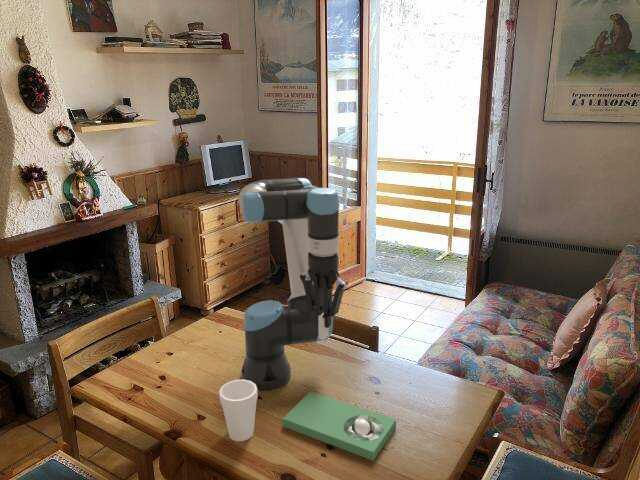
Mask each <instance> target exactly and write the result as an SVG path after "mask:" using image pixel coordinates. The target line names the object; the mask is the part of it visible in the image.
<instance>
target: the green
mask: <svg viewBox="0 0 640 480" xmlns="http://www.w3.org/2000/svg"><path fill="white" fill-rule="evenodd" d="M361 419H363V420H366V421H367V422H368V423H369V425H370V431H371V432H372V433H370V434H367V435H359V434H357V433H356V432H355V423H356V422H357V421H358V420H361ZM282 427H284V428H286V429H288V430H291V431H293V432H297V433H299V434H302V435H304V436H307V437H308V438H309V437H310V438H312V439H315V440H318V441H319V442H323V443H325V444H328V445H330V446H333V447H335V448H338V449H341V450H344V451H346V452H349V453H352V454H353V455H357V456H360V457H362V458H365V459H367V460H370V461H375V460H376V458H377V456H378V455H379V453H380V451H382V449H383V448H384V445H385V444H386V443H387V441H388V440H389V439H390V437H391V436H392V434H393V432H394V431H395V429H396V428H397V419H396V418H392V417H389V416H386V415H382V414H381V413H377V412H374V411H371V410H367V409H364V408H362V407H359V406H356V405H352V404H349V403H347V402H344V401H341V400H338V399H335V398H331V397H329V396H326V395H322V394H321V393H317V392H313V391H309V392H308V393H307V394H306V395H305V396H304V397H303V398H302V399H301V400H299V402H298V403H297V404H295V406H294V407H293V408H292V409H291V410H290V411H289V412H288V413H287V414H286V415H285V416H284V417H283V418H282Z"/></svg>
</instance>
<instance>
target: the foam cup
mask: <svg viewBox="0 0 640 480" xmlns="http://www.w3.org/2000/svg"><path fill="white" fill-rule="evenodd" d="M258 393H259V392H258V389H257V387H256V384H255V383H253V382H251V381H249V380H244V379H242V378H241V379H234V380H230V381H228V382H226V383H224V384H223V385H221V387H220V389H219V391H218V395H219V401H220V405H221V407H222V411H223V415H224V420H225V422H226V427H227V428H226V429H227V432H228V437H229V439H231V440H232V441H235V442H245V441H247V440H249V439H251V438H252V437H253V435H254V431H255V421H256V410H257V401H258Z"/></svg>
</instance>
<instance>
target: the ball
mask: <svg viewBox="0 0 640 480" xmlns="http://www.w3.org/2000/svg"><path fill="white" fill-rule="evenodd" d="M354 432H355V433H356V434H359V435H369V433H370V432H371V430H370V425H369V423H368V422H367V421H366V420H363V419H361V420H358V421H357V422H356V423H355V430H354Z"/></svg>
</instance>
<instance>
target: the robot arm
mask: <svg viewBox="0 0 640 480" xmlns="http://www.w3.org/2000/svg"><path fill="white" fill-rule="evenodd" d="M237 197H238V198H237V200H238V205H239V207H240V209H241V210H242V212H241V213H242V217H243V218H242V219H243V221H244V222H246V223H255V224H256V223H257V224H258V223H263V222H275V221H277V222H278V223H280V224H281V225H282V232H283V238H284V247H285V255H286V262H287V269H288V277H289V278H288V279H289V285H290V293H291V295H290V296H289V298H288V299H287V305H283V304H282V302H280V301H278V300H273V299H270V300H263V301H262V300H261V301H260V302H256V303H254V304H252V305H250V306H249V307H248V308H247V309H245V311H244V314H243V330H244V340H245V341H244V342H245V357H244V360H243V364H242V367H241V372H240V373H241V379H244V380H249V381H251V382H253V383H255V384H256V387H257V390H260V391H262V390H263V391H266V390H272V389H273V390H274V389H276V388H281V387H282V386H284V385H286V384H287V383H288V382H289V380H290V379H291V377H292V368H291V365H290V363H289V360H288V357H287V356H286V353H285V346H292V345H300V344H306V343H307V344H310V343H314V344H315V343H316V344H317V343H318V342H322V341H327V340H329V338H330V337H331V335H332V332H333V326H334V324H333V323H334V316H336V315H337V314H338V313H339V310H340V308H341V303H342V300H343V295H344V290H345V289H346V288H347V286H348V283H349V282H348V281H347V280H342V278H340V272H339V270H338V268H339V252H338V251H339V249H340V247H339V246H340V245H339V243H340V242H339V219H340V218H339V212H340V210H339V209H340V202H339V193H338V191H337V190H336V189H333V188H330V187H318V186H316V185H312V182H311V181H310V180H309V179H308V178H305V177H293V178H278V179H277V178H273V179H260V180H256V181H253V182H251V183H248V184H246V185H245V186H243V188H241V189H240V192H239V193H238V196H237ZM335 283H336V284H335ZM334 285H335V288H336V289H335V290H334V293H333V289H334Z"/></svg>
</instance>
